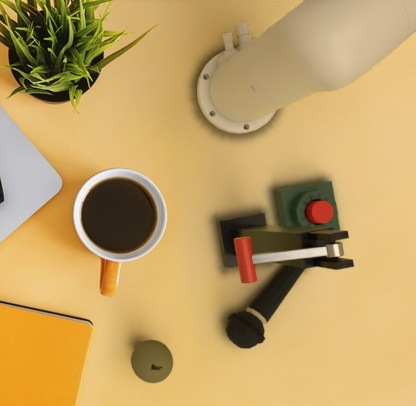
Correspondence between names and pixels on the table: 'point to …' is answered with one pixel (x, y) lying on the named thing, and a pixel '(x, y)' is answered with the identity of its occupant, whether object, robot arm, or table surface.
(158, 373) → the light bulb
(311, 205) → the button
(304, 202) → the button box
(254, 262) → the switch lever
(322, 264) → the switch pillar
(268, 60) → the robot arm
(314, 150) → the table surface
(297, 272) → the microphone
